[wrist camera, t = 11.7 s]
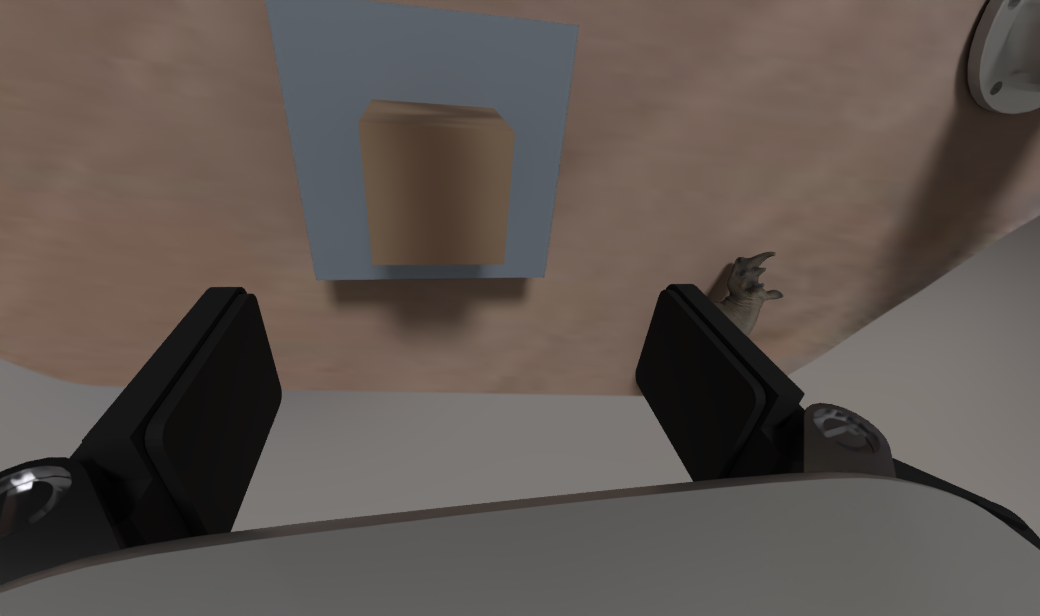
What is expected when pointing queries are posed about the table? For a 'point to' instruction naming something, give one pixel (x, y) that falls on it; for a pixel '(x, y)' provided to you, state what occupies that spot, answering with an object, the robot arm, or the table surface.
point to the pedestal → (423, 79)
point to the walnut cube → (436, 183)
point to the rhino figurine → (746, 292)
